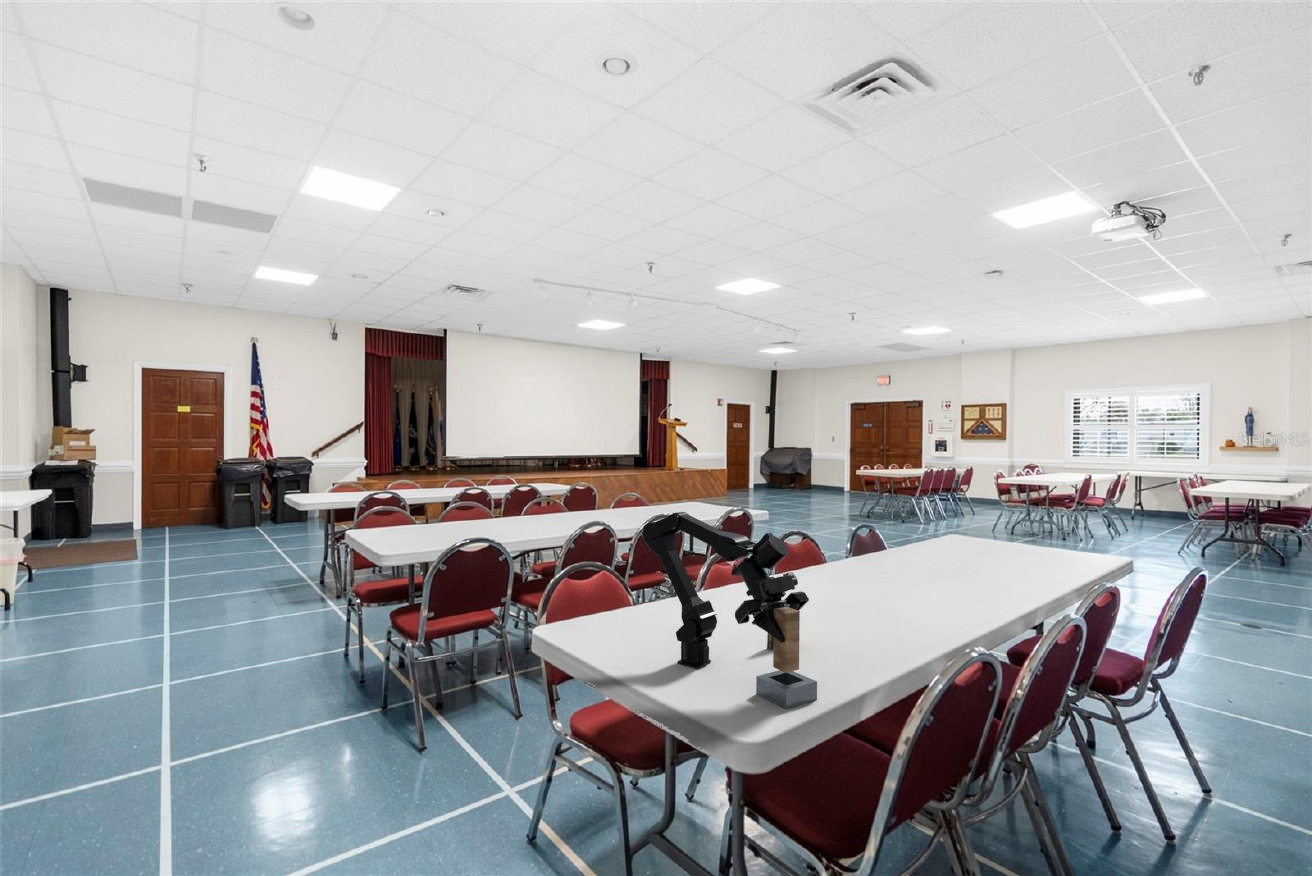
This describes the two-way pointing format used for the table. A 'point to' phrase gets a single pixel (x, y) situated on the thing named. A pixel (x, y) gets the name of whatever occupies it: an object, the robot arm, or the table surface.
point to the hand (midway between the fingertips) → (790, 640)
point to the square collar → (786, 688)
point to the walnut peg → (787, 640)
